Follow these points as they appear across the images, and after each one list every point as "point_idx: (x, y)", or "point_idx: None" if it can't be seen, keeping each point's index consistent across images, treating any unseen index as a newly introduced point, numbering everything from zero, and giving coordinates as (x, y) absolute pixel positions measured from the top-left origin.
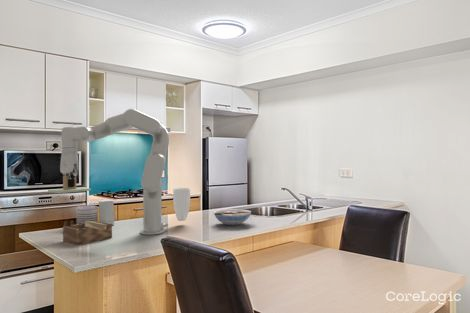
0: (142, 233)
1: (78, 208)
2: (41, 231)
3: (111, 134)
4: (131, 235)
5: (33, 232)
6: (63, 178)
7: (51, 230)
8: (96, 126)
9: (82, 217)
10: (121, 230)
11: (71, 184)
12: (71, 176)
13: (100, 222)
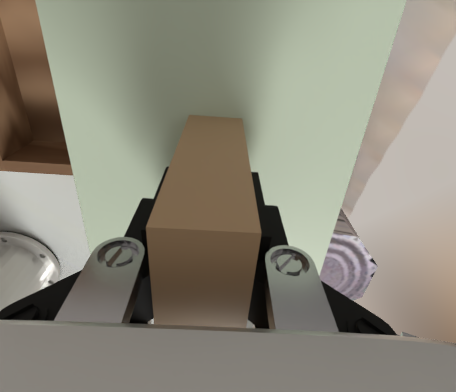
0: (8, 233)
1: (338, 239)
2: (425, 61)
3: None
4: (23, 205)
5: (449, 21)
6: (234, 193)
7: (394, 102)
8: None
9: None
10: None
11: (140, 208)
12: (65, 298)
13: (68, 164)
